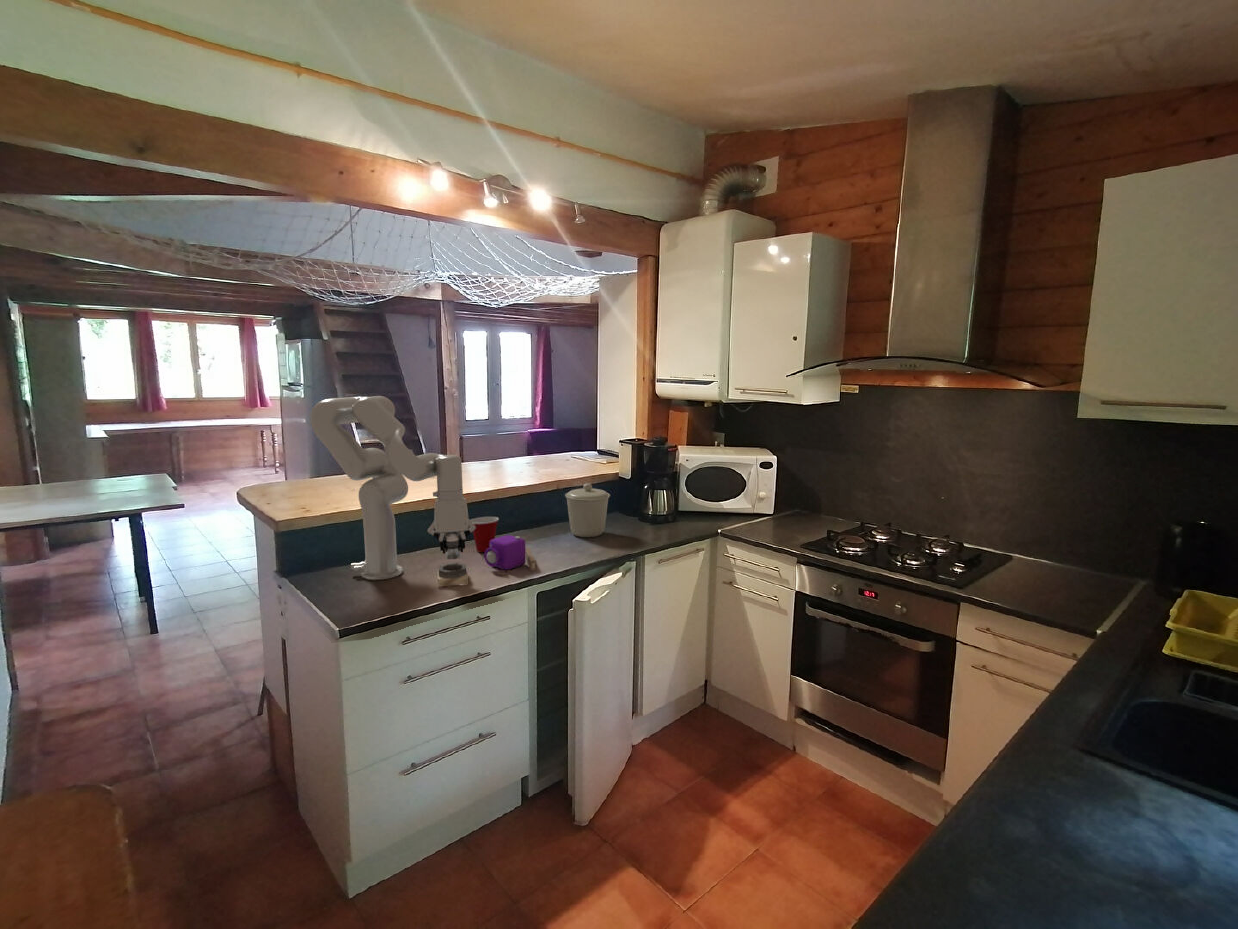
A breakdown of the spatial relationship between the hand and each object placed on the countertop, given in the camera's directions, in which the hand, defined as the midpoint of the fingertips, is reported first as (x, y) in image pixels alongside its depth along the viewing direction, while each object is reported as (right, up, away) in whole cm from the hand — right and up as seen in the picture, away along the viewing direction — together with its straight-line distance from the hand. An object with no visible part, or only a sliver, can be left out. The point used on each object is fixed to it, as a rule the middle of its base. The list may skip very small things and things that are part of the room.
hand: (452, 551), depth 191 cm
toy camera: (+13, -8, +16) cm, 22 cm away
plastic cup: (+2, -5, +34) cm, 34 cm away
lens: (0, -2, 0) cm, 2 cm away
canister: (+39, -1, +57) cm, 69 cm away
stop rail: (+21, -7, +19) cm, 30 cm away
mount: (-1, -10, +2) cm, 10 cm away
